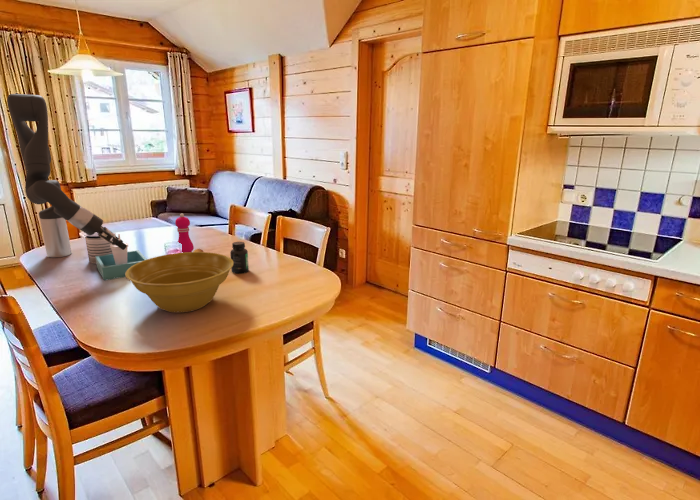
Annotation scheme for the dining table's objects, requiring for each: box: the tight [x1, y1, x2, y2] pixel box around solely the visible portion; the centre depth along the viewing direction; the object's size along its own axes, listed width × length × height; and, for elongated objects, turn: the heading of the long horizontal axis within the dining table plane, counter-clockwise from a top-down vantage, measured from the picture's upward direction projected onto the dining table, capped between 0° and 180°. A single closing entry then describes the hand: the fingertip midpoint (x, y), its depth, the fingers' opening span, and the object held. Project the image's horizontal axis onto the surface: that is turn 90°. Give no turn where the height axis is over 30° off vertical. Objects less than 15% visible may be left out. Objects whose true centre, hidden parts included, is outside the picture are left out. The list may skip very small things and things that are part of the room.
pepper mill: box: [174, 213, 195, 253], centre depth 183 cm, size 7×7×20 cm
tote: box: [95, 249, 148, 281], centre depth 167 cm, size 18×16×5 cm
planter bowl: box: [125, 251, 234, 313], centre depth 135 cm, size 32×32×13 cm
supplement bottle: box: [229, 241, 250, 275], centre depth 167 cm, size 7×7×12 cm
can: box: [84, 232, 117, 265], centre depth 179 cm, size 11×11×12 cm
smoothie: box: [110, 233, 129, 265], centre depth 166 cm, size 6×6×14 cm
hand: (123, 245), depth 166 cm, fingers open, 8 cm apart
